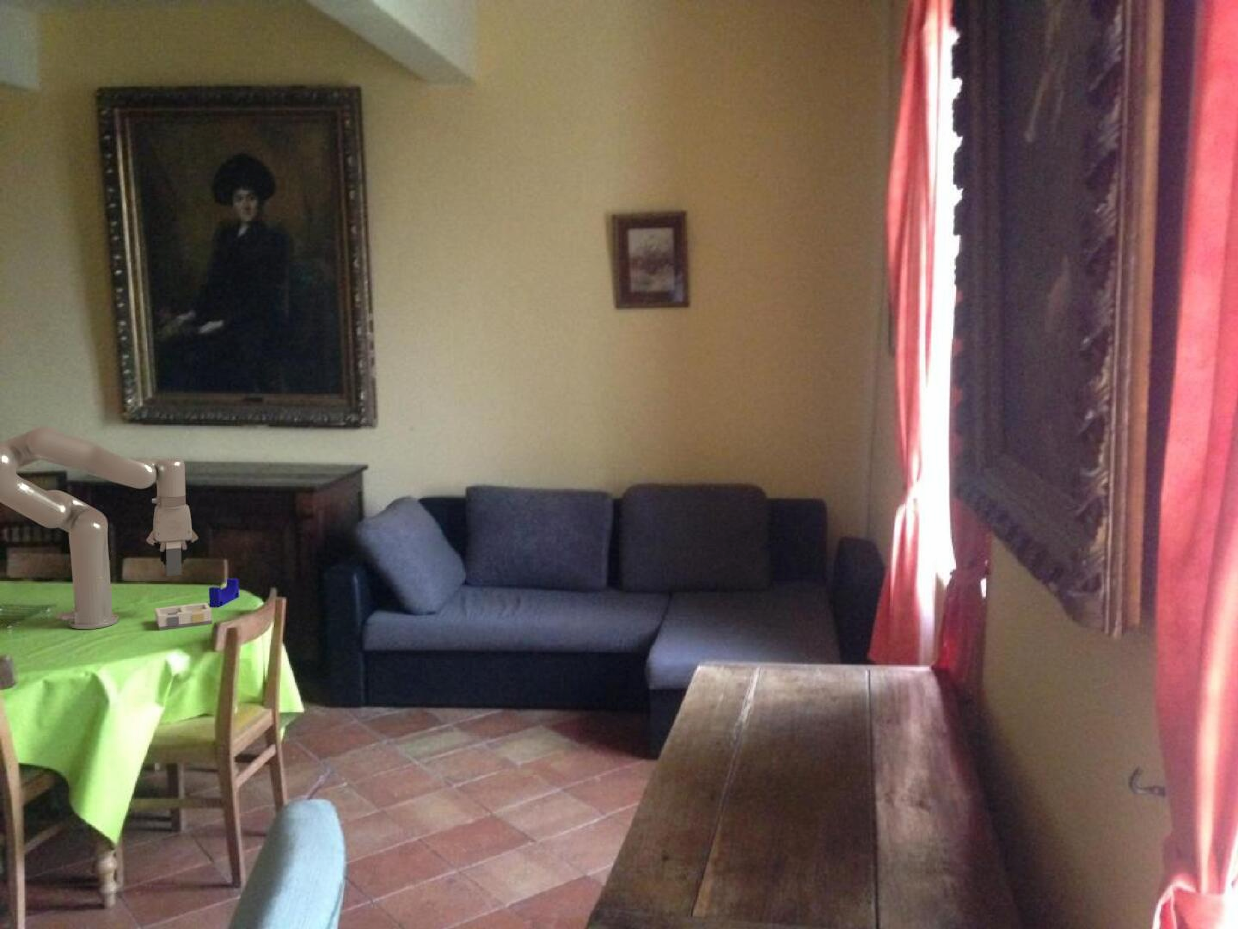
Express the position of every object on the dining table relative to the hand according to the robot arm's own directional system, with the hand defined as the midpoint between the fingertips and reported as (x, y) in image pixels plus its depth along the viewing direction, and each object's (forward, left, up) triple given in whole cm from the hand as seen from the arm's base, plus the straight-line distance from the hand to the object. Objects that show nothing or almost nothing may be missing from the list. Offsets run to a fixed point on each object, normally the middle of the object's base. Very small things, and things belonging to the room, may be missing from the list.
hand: (173, 562), depth 310 cm
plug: (0, 0, -3) cm, 3 cm away
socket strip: (+1, -9, -16) cm, 18 cm away
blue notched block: (+14, +9, -16) cm, 24 cm away
